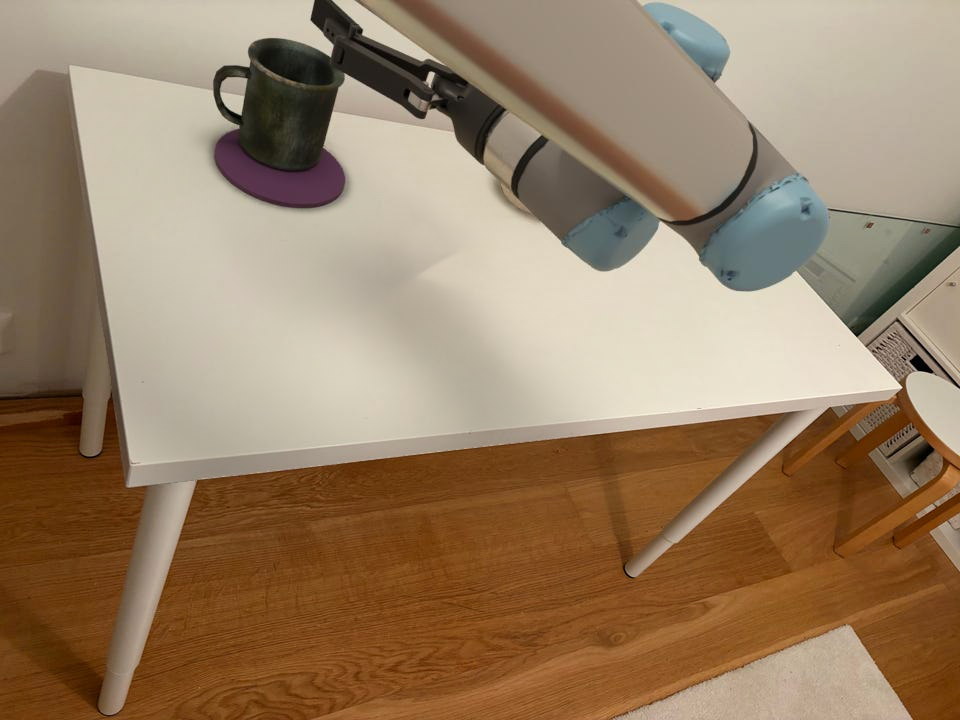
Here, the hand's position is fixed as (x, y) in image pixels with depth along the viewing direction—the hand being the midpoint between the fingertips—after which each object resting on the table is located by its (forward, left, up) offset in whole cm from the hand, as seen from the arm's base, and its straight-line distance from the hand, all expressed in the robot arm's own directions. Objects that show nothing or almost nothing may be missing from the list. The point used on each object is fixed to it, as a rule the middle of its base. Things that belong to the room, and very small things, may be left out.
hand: (374, 9), depth 72 cm
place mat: (-8, +2, -25) cm, 26 cm away
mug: (-12, +2, -25) cm, 27 cm away
